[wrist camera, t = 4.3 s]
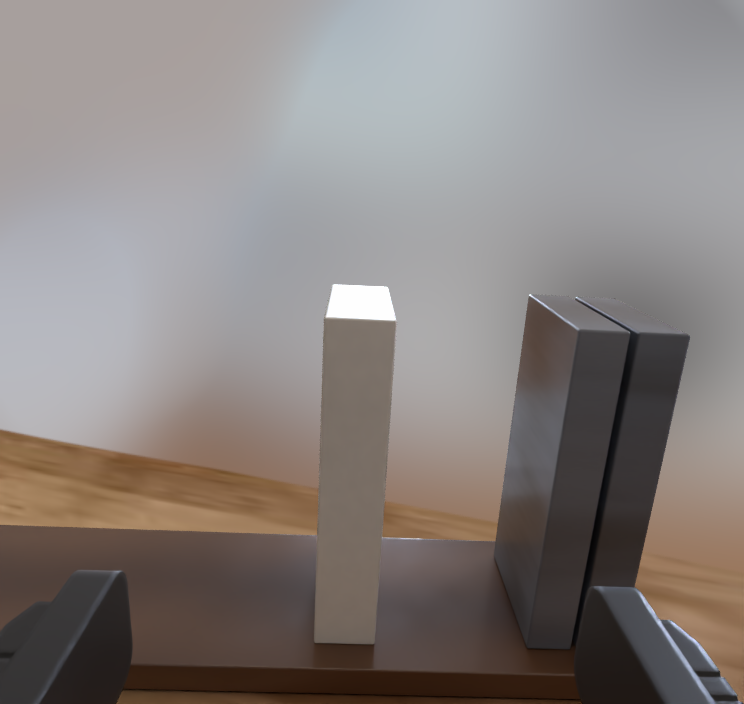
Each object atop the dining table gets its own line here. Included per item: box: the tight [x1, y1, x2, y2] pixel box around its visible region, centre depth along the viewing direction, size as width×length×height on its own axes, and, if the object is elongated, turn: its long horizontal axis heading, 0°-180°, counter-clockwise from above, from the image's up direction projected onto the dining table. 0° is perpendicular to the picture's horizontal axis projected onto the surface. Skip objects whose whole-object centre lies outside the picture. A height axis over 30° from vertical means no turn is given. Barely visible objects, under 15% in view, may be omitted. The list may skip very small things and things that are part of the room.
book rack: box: [0, 294, 690, 699], centre depth 20 cm, size 7×27×12 cm, turn 92°
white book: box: [314, 285, 397, 645], centre depth 20 cm, size 5×2×11 cm, turn 1°
